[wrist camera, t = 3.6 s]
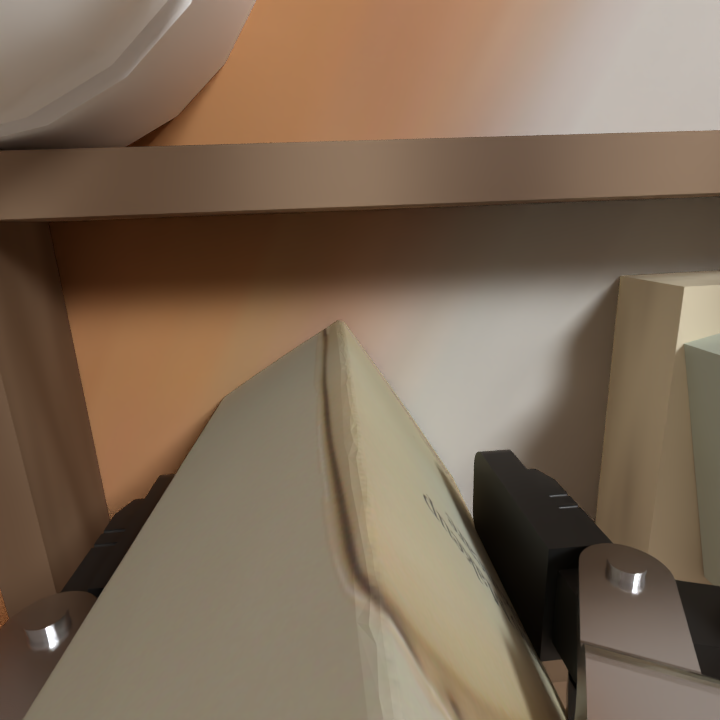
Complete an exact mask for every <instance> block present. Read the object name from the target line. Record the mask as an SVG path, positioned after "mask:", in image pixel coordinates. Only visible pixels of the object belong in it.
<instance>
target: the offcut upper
mask: <svg viewBox="0 0 720 720" xmlns="http://www.w3.org/2000/svg"><path fill="white" fill-rule="evenodd" d="M684 350H685V362H686V373H687V385H688V396H689V408H690V419H691V431H692V442H693V454H694V465H695V477H696V488H697V500H698V511H699V523H700V534H701V546H702V557H703V569H704V577H705V578H706V579H707V580H708V581H709V582H710V583H712V584H713V585H715V586H720V333H719V334H715V335H712V336H708V337H705V338H701V339H698V340H695V341H691V342H688V343H684Z"/></svg>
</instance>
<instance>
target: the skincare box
mask: <svg viewBox="0 0 720 720" xmlns="http://www.w3.org/2000/svg"><path fill="white" fill-rule="evenodd" d="M22 720H567V715H566V709H565V707H564V705H563V703H562V701H561V699H560V697H559V695H558V693H557V691H556V689H555V687H554V685H553V683H552V681H551V679H550V677H549V675H548V673H547V671H546V669H545V667H544V665H543V663H542V662H541V661H540V660H539V658H538V656H537V654H536V652H535V650H534V648H533V646H532V643H531V641H530V639H529V637H528V635H527V633H526V631H525V629H524V627H523V625H522V623H521V621H520V619H519V617H518V615H517V613H516V611H515V609H514V607H513V605H512V603H511V601H510V599H509V597H508V595H507V593H506V591H505V589H504V587H503V585H502V583H501V581H500V578H499V576H498V574H497V572H496V570H495V568H494V566H493V564H492V562H491V560H490V558H489V556H488V554H487V552H486V550H485V548H484V546H483V544H482V542H481V540H480V538H479V536H478V533H477V531H476V529H475V526H474V521H473V519H472V517H471V515H470V513H469V511H468V509H467V507H466V504H465V502H464V500H463V498H462V496H461V494H460V491H459V489H458V487H457V485H456V484H455V482H454V480H453V477H452V476H451V474H450V473H449V472H448V470H447V469H446V467H445V466H444V464H443V463H442V461H441V460H440V458H439V457H438V455H437V454H436V452H435V451H434V449H433V448H432V446H431V445H430V443H429V442H428V440H427V439H426V437H425V436H424V434H423V433H422V431H421V430H420V428H419V427H418V425H417V424H416V423H415V421H414V420H413V418H412V417H411V415H410V414H409V412H408V411H407V410H406V408H405V407H404V405H403V404H402V402H401V401H400V399H399V398H398V397H397V395H396V394H395V392H394V391H393V390H392V388H391V387H390V385H389V384H388V383H387V381H386V380H385V378H384V377H383V376H382V374H381V373H380V371H379V370H378V369H377V367H376V366H375V364H374V363H373V362H372V360H371V359H370V357H369V356H368V355H367V353H366V352H365V350H364V349H363V348H362V346H361V345H360V344H359V342H358V341H357V339H356V338H355V336H354V335H353V334H352V332H351V331H350V329H349V328H348V327H347V325H346V324H345V323H344V322H343V321H341V320H338V321H336V322H335V323H333V324H332V325H330V326H329V327H327V328H326V329H324V330H322V331H321V332H319V333H318V334H316V335H315V336H313V337H312V338H310V339H309V340H307V341H305V342H304V343H302V344H301V345H299V346H298V347H296V348H295V349H293V350H292V351H290V352H289V353H287V354H286V355H284V356H283V357H281V358H280V359H278V360H277V361H276V362H274V363H273V364H271V365H270V366H268V367H267V368H265V369H264V370H262V371H261V372H259V373H258V374H256V375H255V376H253V377H252V378H251V379H249V380H248V381H246V382H245V383H244V384H242V385H241V386H239V387H238V388H236V389H235V390H234V391H232V392H231V393H229V394H228V395H227V396H225V397H224V398H223V400H222V401H221V402H220V404H219V406H218V407H217V409H216V410H215V412H214V414H213V415H212V417H211V418H210V420H209V422H208V423H207V425H206V426H205V428H204V430H203V431H202V433H201V434H200V436H199V438H198V439H197V441H196V443H195V444H194V446H193V447H192V449H191V450H190V452H189V453H188V455H187V457H186V458H185V460H184V461H183V463H182V464H181V466H180V468H179V469H178V471H177V473H176V475H175V476H174V478H173V479H172V481H171V483H170V484H169V486H168V487H167V489H166V491H165V492H164V494H163V495H162V497H161V499H160V500H159V502H158V503H157V505H156V507H155V508H154V510H153V511H152V513H151V515H150V516H149V518H148V519H147V521H146V523H145V524H144V526H143V527H142V529H141V531H140V532H139V534H138V535H137V537H136V539H135V540H134V542H133V543H132V545H131V547H130V548H129V550H128V551H127V553H126V554H125V556H124V558H123V559H122V561H121V562H120V564H119V566H118V567H117V569H116V570H115V572H114V574H113V575H112V577H111V578H110V580H109V581H108V583H107V585H106V586H105V588H104V589H103V591H102V592H101V594H100V596H99V597H98V599H97V601H96V602H95V604H94V605H93V607H92V609H91V610H90V612H89V613H88V615H87V617H86V618H85V620H84V621H83V623H82V625H81V626H80V628H79V630H78V631H77V633H76V634H75V636H74V638H73V639H72V641H71V642H70V644H69V646H68V647H67V649H66V650H65V652H64V654H63V655H62V657H61V658H60V660H59V662H58V663H57V665H56V666H55V668H54V670H53V671H52V673H51V674H50V676H49V678H48V679H47V681H46V682H45V684H44V686H43V687H42V689H41V690H40V692H39V694H38V695H37V697H36V698H35V700H34V702H33V703H32V705H31V707H30V708H29V710H28V711H27V713H26V715H25V716H24V718H23V719H22Z"/></svg>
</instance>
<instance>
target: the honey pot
mask: <svg viewBox="0 0 720 720" xmlns="http://www.w3.org/2000/svg"><path fill="white" fill-rule="evenodd" d="M255 2H256V0H0V151H6V150H42V149H77V148H112V147H126V146H128V145H130V144H131V143H133V142H135V141H136V140H138V139H140V138H141V137H143V136H145V135H146V134H148V133H150V132H151V131H153V130H155V129H156V128H158V127H160V126H161V125H163V124H165V123H167V122H168V121H170V120H172V119H173V118H175V117H177V116H178V115H179V114H180V113H181V111H182V110H183V109H184V108H185V107H186V106H187V105H188V104H189V103H190V102H191V100H192V99H193V98H194V97H195V96H196V95H197V94H198V93H199V92H200V91H201V89H202V88H203V87H204V86H205V85H206V84H207V83H208V82H209V81H210V79H211V78H212V77H213V76H214V75H215V74H216V73H217V72H218V71H219V70H220V68H221V67H222V66H223V65H224V64H225V63H226V61H227V59H228V57H229V55H230V53H231V51H232V49H233V47H234V45H235V43H236V40H237V38H238V36H239V34H240V32H241V30H242V28H243V26H244V24H245V22H246V20H247V18H248V16H249V14H250V12H251V10H252V8H253V6H254V4H255Z"/></svg>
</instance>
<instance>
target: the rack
mask: <svg viewBox="0 0 720 720" xmlns="http://www.w3.org/2000/svg"><path fill="white" fill-rule="evenodd" d="M716 196H720V130H712V131H677V132H642V133H606V134H571V135H536V136H500V137H465V138H430V139H395V140H359V141H324V142H289V143H253V144H218V145H183V146H148V147H112V148H77V149H42V150H6V151H0V589H1V592H2V596H3V599H4V603H5V606H6V609H7V613H8V616H9V619H10V618H11V617H12V616H14V615H15V614H16V613H18V612H19V611H20V610H22V609H23V608H25V607H27V606H28V605H30V604H32V603H34V602H36V601H38V600H40V599H43V598H45V597H47V596H50V595H54V594H57V593H60V592H61V591H62V589H63V588H64V586H65V585H66V583H67V582H68V581H69V579H70V578H71V576H72V575H73V574H74V572H75V571H76V569H77V568H78V566H79V565H80V564H81V562H82V561H83V559H84V558H85V556H86V555H87V554H88V552H89V551H90V549H91V548H94V544H95V542H96V541H97V539H98V538H99V537H100V535H101V534H104V529H105V528H106V527H107V525H108V524H109V522H110V519H109V514H108V509H107V505H106V500H105V495H104V490H103V485H102V480H101V476H100V471H99V466H98V461H97V456H96V451H95V446H94V442H93V437H92V432H91V427H90V422H89V417H88V413H87V408H86V403H85V398H84V393H83V388H82V384H81V379H80V374H79V369H78V364H77V359H76V355H75V350H74V345H73V340H72V335H71V330H70V325H69V321H68V316H67V311H66V306H65V301H64V296H63V292H62V287H61V282H60V277H59V272H58V267H57V263H56V258H55V253H54V248H53V243H52V238H51V234H50V229H49V224H48V222H59V221H85V220H111V219H138V218H164V217H190V216H216V215H243V214H269V213H295V212H322V211H348V210H374V209H400V208H427V207H453V206H479V205H505V204H532V203H558V202H584V201H610V200H637V199H663V198H689V197H716ZM542 663H543V665H544V667H545V669H546V671H547V673H548V675H549V677H550V679H551V681H552V683H553V685H554V687H555V689H556V691H557V693H558V695H559V697H560V699H561V701H562V703H563V705H564V707H565V709H566V686H567V676H568V669H567V668H566V666H565V664H564V662H563V660H552V661H543V662H542Z"/></svg>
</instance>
